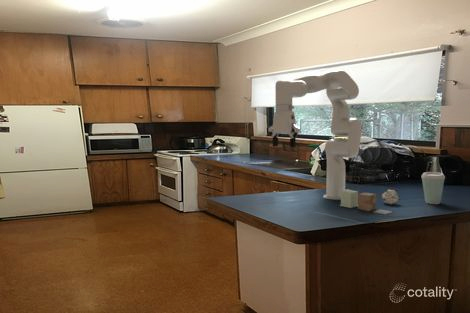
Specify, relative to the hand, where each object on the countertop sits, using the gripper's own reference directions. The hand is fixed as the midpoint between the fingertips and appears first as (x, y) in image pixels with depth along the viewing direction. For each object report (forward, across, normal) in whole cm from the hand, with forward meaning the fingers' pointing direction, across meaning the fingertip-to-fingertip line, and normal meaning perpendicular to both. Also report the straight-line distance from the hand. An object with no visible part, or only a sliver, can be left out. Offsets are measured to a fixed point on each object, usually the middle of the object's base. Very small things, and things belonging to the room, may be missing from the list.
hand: (283, 146), depth 179 cm
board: (+30, -26, -27) cm, 48 cm away
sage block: (+29, -18, -28) cm, 44 cm away
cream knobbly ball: (+30, -30, -45) cm, 62 cm away
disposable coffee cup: (+30, -43, -64) cm, 83 cm away
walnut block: (+29, -27, -26) cm, 48 cm away
